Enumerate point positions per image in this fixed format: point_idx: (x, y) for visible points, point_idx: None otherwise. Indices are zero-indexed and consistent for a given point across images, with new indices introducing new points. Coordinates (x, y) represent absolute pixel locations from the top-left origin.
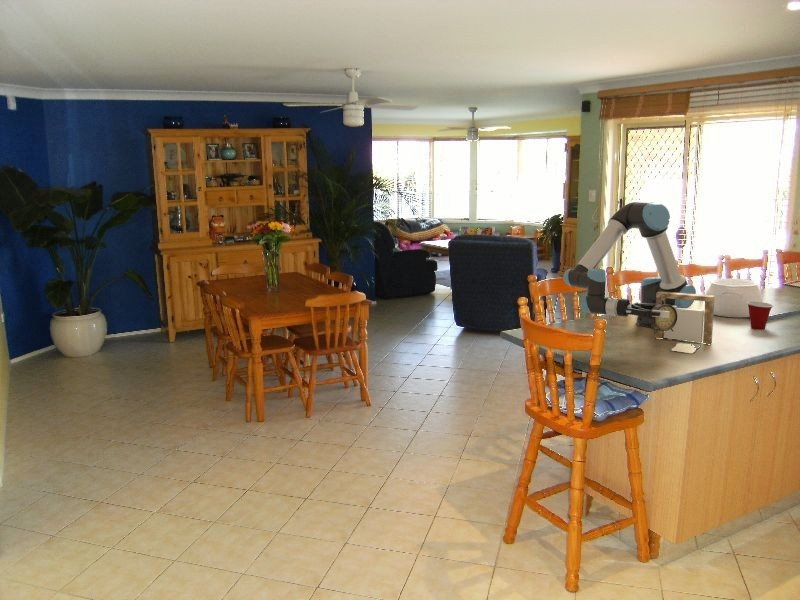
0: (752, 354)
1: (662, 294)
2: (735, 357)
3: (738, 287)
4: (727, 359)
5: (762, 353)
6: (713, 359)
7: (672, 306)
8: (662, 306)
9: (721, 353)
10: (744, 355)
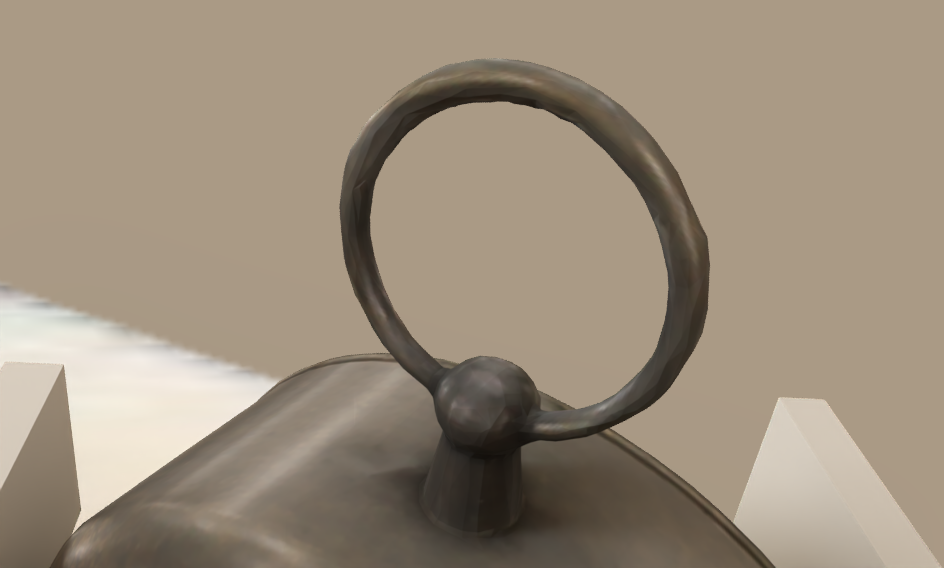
0: (67, 343)
1: (591, 117)
2: (211, 412)
3: None
4: None
5: (16, 306)
6: None
7: (357, 360)
8: (692, 500)
9: (97, 501)
10: (118, 375)
